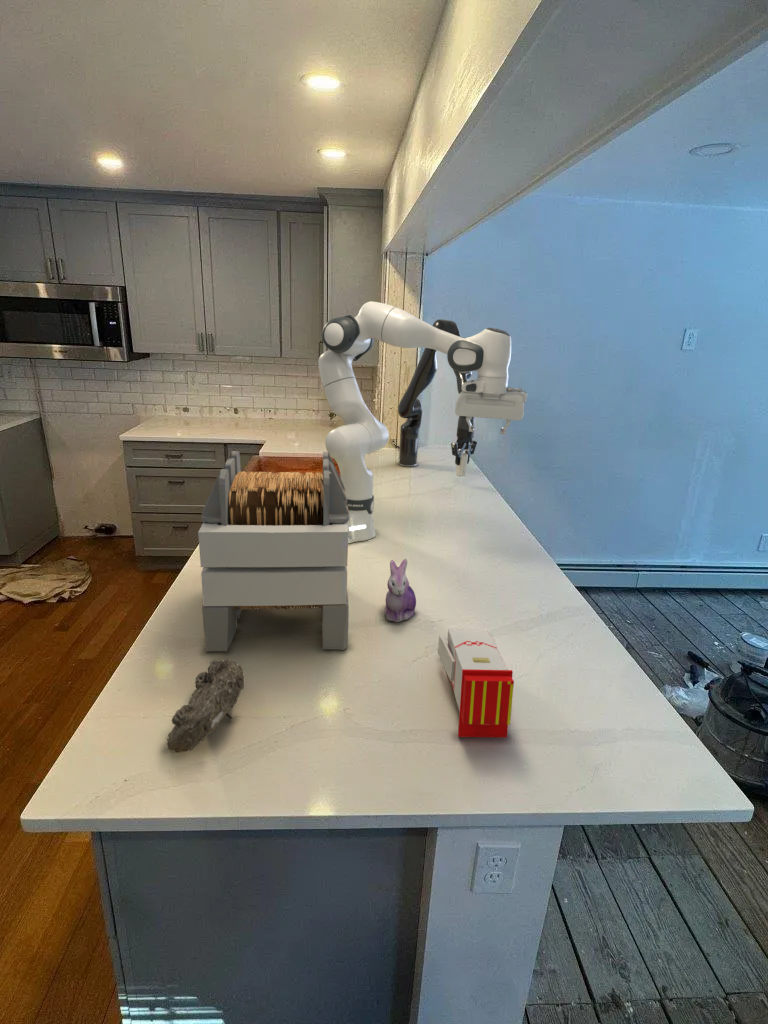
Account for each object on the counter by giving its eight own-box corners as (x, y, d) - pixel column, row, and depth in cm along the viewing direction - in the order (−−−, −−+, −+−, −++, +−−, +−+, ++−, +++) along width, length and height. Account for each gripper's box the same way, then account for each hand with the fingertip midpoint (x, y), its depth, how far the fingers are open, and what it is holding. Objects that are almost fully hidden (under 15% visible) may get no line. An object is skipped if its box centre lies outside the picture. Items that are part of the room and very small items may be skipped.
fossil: (192, 660, 117) (244, 628, 112) (224, 691, 120) (276, 661, 115) (142, 746, 98) (202, 712, 93) (182, 779, 101) (242, 748, 96)
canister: (466, 476, 255) (468, 455, 252) (456, 476, 255) (458, 455, 252) (465, 473, 259) (467, 453, 256) (455, 473, 259) (457, 452, 256)
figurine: (392, 627, 141) (395, 572, 136) (374, 608, 149) (376, 556, 144) (425, 619, 145) (429, 566, 140) (405, 601, 154) (408, 550, 149)
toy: (488, 613, 130) (523, 677, 101) (484, 667, 133) (517, 744, 104) (435, 612, 130) (455, 676, 101) (432, 666, 133) (451, 743, 103)
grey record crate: (225, 584, 158) (217, 441, 145) (342, 583, 162) (345, 443, 148) (202, 654, 127) (189, 479, 113) (348, 650, 131) (352, 481, 117)
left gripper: (527, 387, 168) (521, 433, 173) (458, 382, 171) (454, 428, 176) (528, 390, 162) (522, 437, 167) (456, 385, 166) (452, 431, 170)
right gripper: (459, 429, 243) (455, 468, 249) (483, 427, 250) (479, 464, 257) (448, 426, 248) (444, 463, 254) (472, 423, 256) (467, 460, 262)
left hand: (486, 432), depth 171 cm, fingers open, 8 cm apart
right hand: (461, 464), depth 255 cm, fingers closed on canister, 4 cm apart
